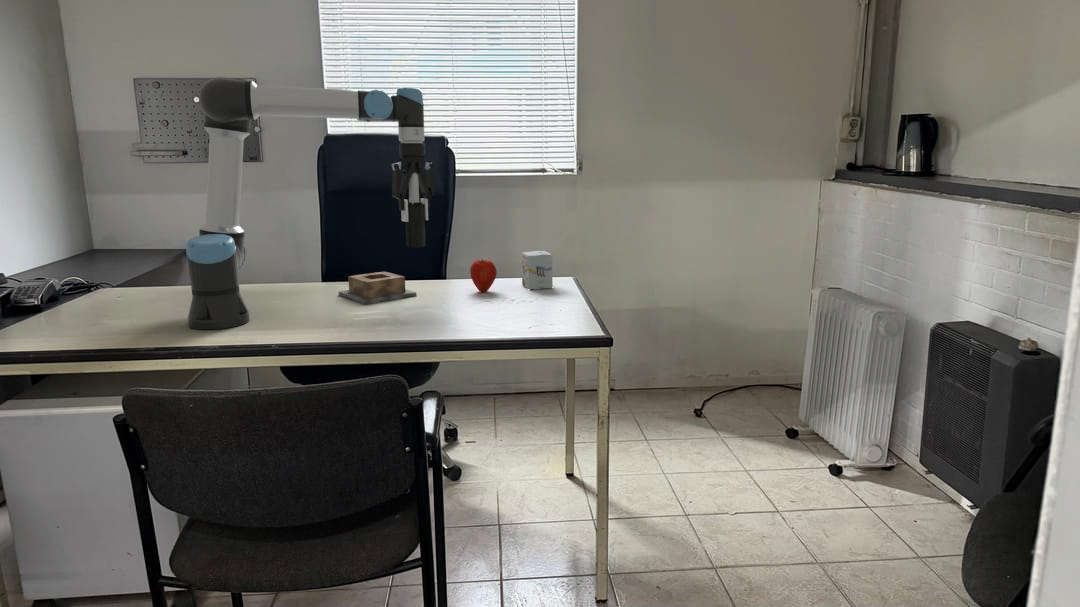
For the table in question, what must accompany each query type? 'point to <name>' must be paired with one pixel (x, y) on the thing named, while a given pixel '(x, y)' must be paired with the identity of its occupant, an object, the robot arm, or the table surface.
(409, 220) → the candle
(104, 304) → the table surface
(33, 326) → the table surface
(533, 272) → the ink box
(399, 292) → the holder
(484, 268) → the red strawberry
